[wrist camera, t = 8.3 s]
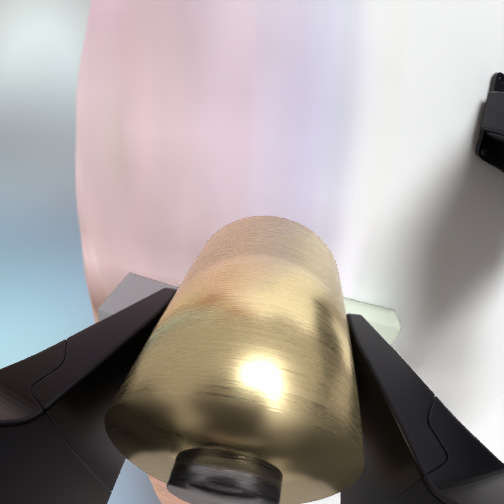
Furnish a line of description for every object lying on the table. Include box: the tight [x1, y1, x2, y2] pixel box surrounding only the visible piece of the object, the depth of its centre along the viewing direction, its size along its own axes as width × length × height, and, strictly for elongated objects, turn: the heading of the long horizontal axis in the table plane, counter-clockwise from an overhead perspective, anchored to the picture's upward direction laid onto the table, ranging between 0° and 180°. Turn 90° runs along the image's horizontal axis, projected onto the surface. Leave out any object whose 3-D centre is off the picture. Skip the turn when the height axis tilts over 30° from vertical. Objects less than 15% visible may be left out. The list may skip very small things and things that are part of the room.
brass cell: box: [104, 216, 364, 504], centre depth 7 cm, size 4×4×7 cm
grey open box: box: [98, 273, 178, 321], centre depth 23 cm, size 6×8×5 cm
